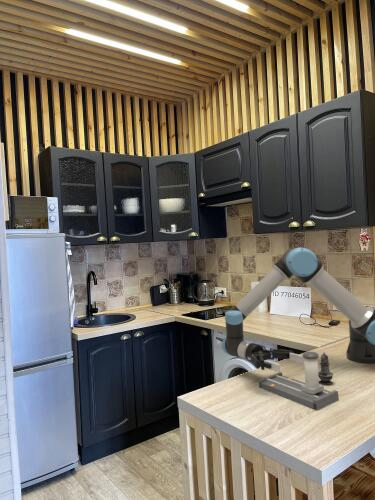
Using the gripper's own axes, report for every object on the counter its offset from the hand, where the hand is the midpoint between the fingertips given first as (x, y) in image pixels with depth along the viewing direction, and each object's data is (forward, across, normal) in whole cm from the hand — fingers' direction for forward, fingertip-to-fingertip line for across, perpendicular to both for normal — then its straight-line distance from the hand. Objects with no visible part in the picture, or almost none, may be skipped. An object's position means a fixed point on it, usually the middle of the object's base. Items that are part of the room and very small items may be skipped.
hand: (292, 364), depth 132 cm
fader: (+8, 0, -7) cm, 11 cm away
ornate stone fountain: (+2, -16, -11) cm, 20 cm away
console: (+1, 0, -10) cm, 10 cm away
